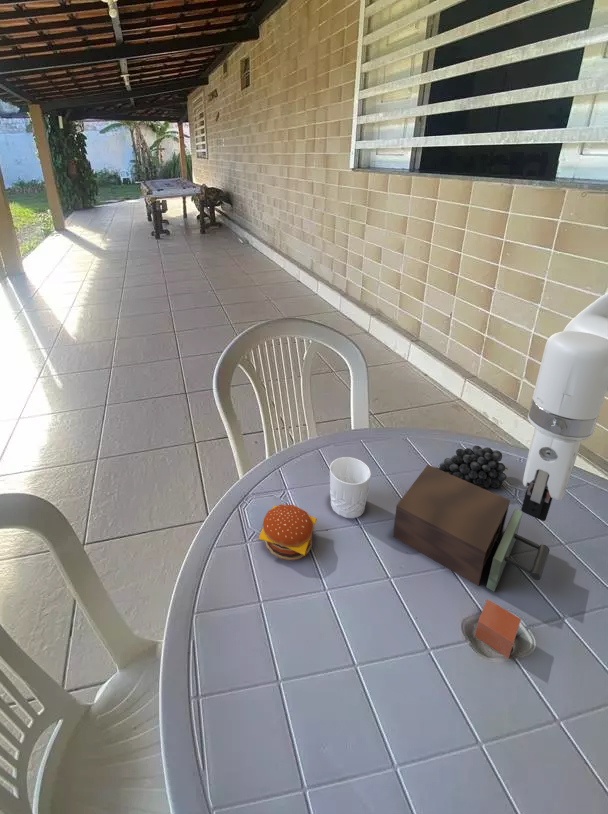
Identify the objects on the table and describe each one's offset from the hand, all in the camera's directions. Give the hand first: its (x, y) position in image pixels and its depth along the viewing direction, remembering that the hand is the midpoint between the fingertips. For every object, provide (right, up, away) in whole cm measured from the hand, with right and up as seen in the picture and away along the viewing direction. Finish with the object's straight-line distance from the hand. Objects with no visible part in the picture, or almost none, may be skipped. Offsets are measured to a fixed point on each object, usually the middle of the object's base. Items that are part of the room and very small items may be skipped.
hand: (533, 513), depth 67 cm
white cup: (-24, -9, +21) cm, 33 cm away
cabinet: (-7, -10, +13) cm, 18 cm away
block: (-9, -17, -4) cm, 20 cm away
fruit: (+4, -5, +26) cm, 27 cm away
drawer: (-3, -11, +9) cm, 15 cm away
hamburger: (-37, -12, +14) cm, 41 cm away
